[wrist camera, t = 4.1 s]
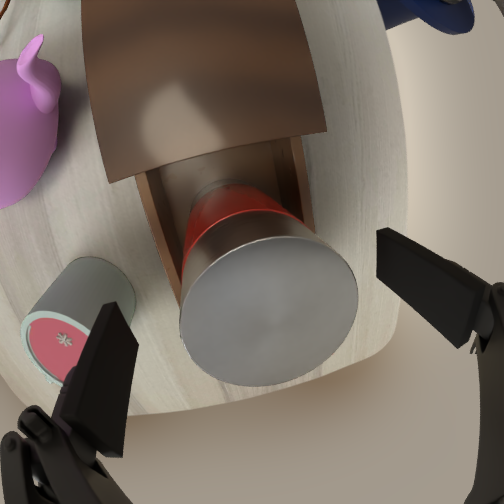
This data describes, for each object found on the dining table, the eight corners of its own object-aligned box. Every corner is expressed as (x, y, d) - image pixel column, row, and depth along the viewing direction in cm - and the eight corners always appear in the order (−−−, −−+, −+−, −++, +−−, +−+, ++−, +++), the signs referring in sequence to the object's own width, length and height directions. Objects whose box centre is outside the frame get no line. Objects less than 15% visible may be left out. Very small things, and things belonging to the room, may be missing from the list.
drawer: (308, 304, 30) (333, 342, 24) (198, 334, 29) (201, 380, 23) (276, 104, 22) (305, 91, 15) (134, 138, 20) (110, 136, 14)
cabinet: (285, 134, 24) (327, 131, 16) (138, 170, 22) (108, 184, 14) (248, -18, 16) (268, -66, 8) (110, 11, 15) (81, -30, 7)
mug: (84, 239, 23) (37, 287, 14) (151, 295, 27) (137, 362, 18) (38, 317, 25) (5, 370, 16) (95, 359, 29) (77, 419, 20)
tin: (261, 169, 22) (357, 212, 9) (276, 245, 25) (357, 357, 12) (178, 190, 22) (147, 267, 8) (200, 265, 25) (211, 402, 11)
